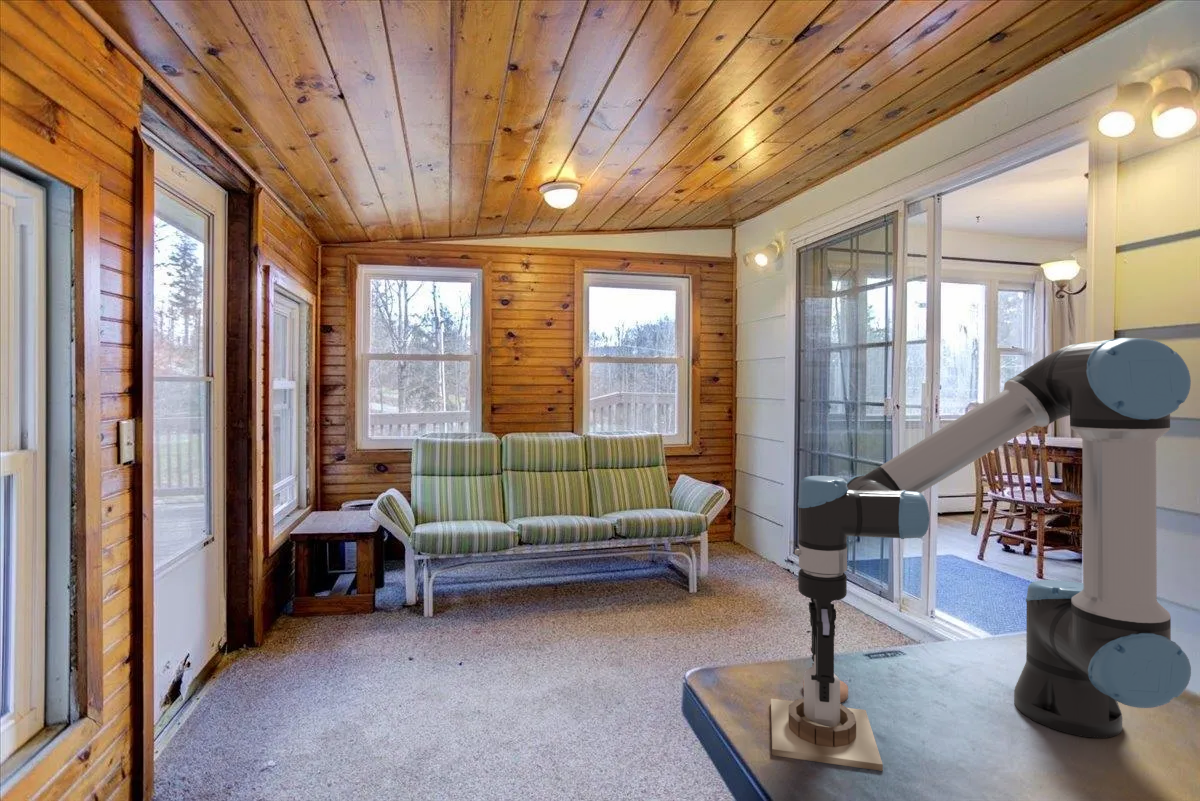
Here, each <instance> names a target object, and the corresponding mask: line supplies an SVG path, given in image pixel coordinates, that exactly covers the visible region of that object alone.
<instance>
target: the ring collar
mask: <svg viewBox="0 0 1200 801" xmlns="http://www.w3.org/2000/svg"><path fill="white" fill-rule="evenodd" d="M770 715H771V716H770V718H771V723H770V724H771V752H772V753H771V754H772V756H775V757H783V758H789V759H795V760H802V761H811V762H817V763H825V764H831V765H839V766H845V767H850V768H851V767H852V768H861V769H867V770H872V771H880V772H882V771H883V772H884V764H883V761H882V758H881V754H880V752H879V748H878V745H877V741H876V739H875V738H876V737H875V735H874V733H873V729H872V727H871V722H870V719H869V716H868V713H867V710H866V709H861V708H851V707H846V705H843V704H842V703H840V723H839V724H838V725H837V726H835V727H828V726H824V725H820V724H818V723H815V722H813V721H811V720H810V719H808V718H807V717H806V716H805V715H804V697H802V698H797V699H795V700H793V701H792V700H784V699H777V698H776V699H775V698H770Z"/></svg>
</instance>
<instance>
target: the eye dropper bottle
mask: <svg viewBox="0 0 1200 801" xmlns="http://www.w3.org/2000/svg"><path fill="white" fill-rule="evenodd" d="M813 663H814V667H812V666H811V667H809V668H807V669H806V670H805V671H804V674H803V680H804V691H803V698H804V715H805V716H806V717H807V718H808V719H810V720H811V721H813V722H815V723H818V724H820V725H824V726H828V727H835V726H837V725H838V724H839V723H840V704H841V703H840V680H841V679H840V678H839V677H838V676H837V675H836V673H834V678H835V681H834V683H833V721H832V720H823V719H815V680H811V675H816V654H815V655H814V662H813Z"/></svg>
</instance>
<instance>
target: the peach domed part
mask: <svg viewBox="0 0 1200 801" xmlns="http://www.w3.org/2000/svg"><path fill="white" fill-rule="evenodd" d="M839 680H840V704H842V703H843V702H846V701H847V700H848V698H849V686H848V685H847V684H846V683H845V682H844V681H842V680H841V679H839ZM802 691H803V692H804V679H803V681H802Z"/></svg>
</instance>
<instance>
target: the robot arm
mask: <svg viewBox="0 0 1200 801" xmlns="http://www.w3.org/2000/svg"><path fill="white" fill-rule="evenodd" d="M1191 383H1192V380H1191V374H1190V371H1189V368H1188V365H1187V364H1186V362H1185V360H1184V359H1183V358H1182V357H1181V355H1180V354H1179V353H1178V352H1177V351H1174V350H1173V349H1172V348H1171V347H1170V346H1169V345H1167V344H1165V343H1163V342H1160V341H1157V340H1154V339H1150V338H1145V337H1144V338H1143V337H1142V338H1141V337H1138V338H1137V337H1125V336H1124V337H1119V338H1110V339H1106V340H1105V339H1104V340H1097V341H1087V342H1078V343H1073V344H1070V345H1066V346H1064V347H1062V348H1059V349H1058V350H1055V351H1053V352H1052V353H1049V354H1048V355H1046V356H1045V357H1042V359H1039V360H1038V361H1036V362H1035V363H1034V364H1032V365H1031V366H1029V367H1026V369H1025V370H1023V371H1022V372H1020V373H1018V374H1016V375H1015V376H1013V377H1012V378H1010V379H1008V380H1007V381H1005V382H1004V386H1003V390H1002V391H1001V392H999V393H997V394H996V395H994V396H992V397H991V398H989V399H987V400H986V401H984V402H983V403H981V404H979V405H977V406H976V407H975V408H973V409H971V410H969V411H967V412H965V413H964V414H963V415H961V416H960V417H958V418H956V419H955V420H952V422H950V423H948V424H947V425H945V426H943V427H942V428H940V429H938V430H936V431H935V432H934V433H932V434H930V435H928V436H927V437H925V438H924V439H922V440H921V441H919V442H917V443H916V444H914V445H913V446H910V447H909V448H907V449H906V450H904V451H902V452H900V453H899V454H898V455H896V456H894V457H893V458H891V459H889V460H888V461H886V462H885V463H883V464H881V465H880V466H878V467H876V468H875V469H873V470H871V471H870V472H868V473H866V474H861V475H855V476H851V477H850V478H848V479H847V480H846V479H845V478H842V477H839V476H833V475H831V476H830V475H829V476H828V475H809V476H805V477H804V478H802V479H801V480H800V481H799V485H798V487H799V488H798V501H797V514H798V515H797V517H798V518H797V519H798V520H797V524H798V525H797V526H798V528H797V530H798V548H796V549H794V555H796V556H798V566H799V568H800V569H798V572H797V573H798V576H797V577H798V579H797V580H798V584H797V588H798V591H799V593H800V594H801V595H802V596H804V597H806V598H809V599H810V601H808V611H809V615H810V616H809V622H810V626H811V647H810V651H811V654H812V655H811V660H812V663H811V667H814V655H815V654H816V675H811V680H815V719H823V720H832V721H833V683H834V681H835V678H834V674H835V636H836V631H835V630H836V624H835V622H836V620H837V610H836V608H835V604H834V603H832V602H834V601H841V600H842V599H844V598H845V597H847V592H848V590H847V588H848V587H847V586H848V585H847V584H848V582H847V581H848V580H847V578H848V576H847V574H846V572H847V570H848V544H847V543H848V540H847V539H848V537H862V538H863V537H865V538H886V539H887V538H889V539H900V540H904V539H919V538H923V537H924V536H926V534H927V532H928V530H929V526H930V511H929V504H928V502H927V499H926V497H925V495H923V494H922V493H923V492H924V491H926V490H928V489H930V488H932V487H934V486H935V485H937V484H938V483H940V482H941V481H943V480H945V479H947V478H949V477H950V476H952V475H953V474H955V473H957V472H959V471H960V470H962V469H963V468H965V467H967V466H969V465H971V464H972V463H973V462H975V461H977V460H979V459H980V458H982V457H984V456H985V455H987V454H989V453H991V452H992V451H994V450H996V449H997V448H999V447H1000V446H1002V445H1004V444H1006V443H1007V442H1010V441H1011V440H1012V439H1014V438H1016V437H1017V436H1019V435H1021V434H1022V433H1024V432H1026V431H1028V430H1029V429H1031V428H1033V427H1041V428H1042V427H1043V428H1045V427H1047V426H1049V425H1050V424H1052V423H1054V422H1055V421H1058V420H1060V419H1063V418H1066V417H1069V419H1070V420H1069V427H1070V429H1071V430H1072V431H1073V432H1075V433H1076V434H1077V435H1078V436H1079V437H1080V438H1081V439H1082V558H1083V559H1082V561H1083V562H1082V570H1083V572H1082V573H1083V574H1082V577H1083V578H1082V582H1078V581H1077V582H1076V581H1075V582H1074V581H1067V580H1050V579H1049V580H1048V579H1046V580H1043V579H1042V580H1035V581H1032V582H1031V583H1029V585H1028V586H1027V590H1026V591H1027V592H1026V598H1025V602H1026V633H1025V635H1026V637H1025V638H1026V643H1025V644H1026V645H1025V646H1026V656H1025V657H1026V658H1025V659H1026V661H1025V664H1024V666H1023V668H1022V670H1021V673H1020V675H1019V678H1018V679H1017V681H1016V685H1015V687H1014V690H1013V691H1014V692H1013V702H1014V705H1015V707H1016V709H1018V711H1020V713H1021V714H1023V715H1025V717H1027V718H1029V719H1031V720H1033V721H1034V722H1036V723H1039V724H1041V725H1043V726H1045V727H1047V728H1051V729H1053V730H1056V731H1059V732H1063V733H1066V734H1070V735H1074V736H1079V737H1086V738H1094V739H1095V738H1097V739H1100V738H1101V739H1102V738H1104V739H1106V738H1113V737H1117V736H1118V735H1120V734H1121V733H1122V731H1123V713H1122V709H1121V708H1120V706H1119V703H1120V704H1122V705H1125V706H1127V707H1132V708H1137V709H1152V708H1157V707H1161V706H1164V705H1167V704H1169V703H1171V701H1172V700H1173V699H1175V698H1178V697H1180V696H1181V695H1182V694H1183V693H1184V691H1185V690H1186V689H1187V687H1188V685H1189V684H1190V680H1191V676H1192V666H1191V663H1190V659H1189V658H1188V656H1187V654H1186V653H1185V651H1184V650H1183V649H1182V647H1181V646H1179V644H1177V643H1176V642H1175V641H1174V640H1172V639H1171V638H1172V636H1171V635H1172V634H1171V631H1172V630H1171V628H1172V626H1171V621H1172V620H1171V613H1170V612H1169V611H1168V610H1167V609H1166V608H1165V607H1163V605H1161V603H1159V602H1158V600H1157V599H1158V598H1157V594H1158V592H1157V588H1158V587H1157V586H1158V585H1157V584H1158V583H1157V580H1158V578H1157V575H1158V574H1157V570H1158V569H1157V567H1158V566H1157V563H1158V562H1157V441H1158V439H1160V438H1161V437H1162V436H1164V435H1165V434H1167V433H1168V432H1169V431H1170V430H1171V414H1172V413H1174V412H1175V411H1176V410H1178V409H1179V407H1180V405H1181V404H1184V403H1185V401H1186V400H1187V398H1188V396H1189V394H1190V391H1191Z"/></svg>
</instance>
